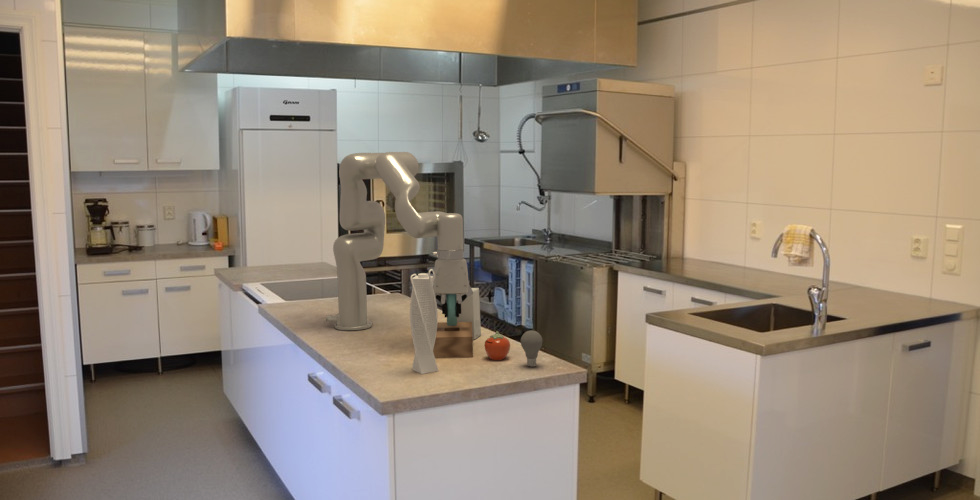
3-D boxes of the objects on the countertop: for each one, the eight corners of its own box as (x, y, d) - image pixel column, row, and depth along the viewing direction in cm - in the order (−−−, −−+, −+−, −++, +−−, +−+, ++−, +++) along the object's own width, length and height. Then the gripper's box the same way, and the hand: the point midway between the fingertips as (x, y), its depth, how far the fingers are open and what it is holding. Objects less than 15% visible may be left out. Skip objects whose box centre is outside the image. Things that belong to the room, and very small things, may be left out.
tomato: (479, 357, 227) (479, 330, 226) (502, 354, 230) (501, 327, 229) (492, 363, 220) (492, 335, 219) (515, 359, 224) (515, 332, 223)
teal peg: (446, 326, 234) (446, 292, 233) (447, 323, 237) (446, 291, 236) (456, 325, 234) (456, 292, 233) (457, 323, 237) (456, 290, 236)
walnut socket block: (431, 358, 227) (430, 337, 226) (433, 341, 247) (433, 322, 246) (472, 357, 227) (472, 336, 226) (472, 340, 247) (471, 321, 246)
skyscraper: (444, 371, 213) (442, 268, 209) (420, 376, 209) (418, 271, 205) (429, 365, 219) (427, 265, 216) (406, 369, 215) (403, 267, 211)
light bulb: (519, 363, 220) (519, 328, 218) (540, 363, 220) (540, 327, 219) (522, 369, 214) (521, 333, 212) (544, 368, 214) (544, 332, 213)
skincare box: (481, 335, 254) (480, 287, 252) (474, 340, 247) (473, 291, 246) (457, 334, 256) (456, 286, 254) (449, 338, 250) (448, 290, 248)
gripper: (422, 257, 229) (423, 319, 232) (478, 256, 230) (479, 318, 232) (423, 254, 237) (425, 314, 239) (478, 253, 237) (478, 313, 240)
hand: (451, 315), depth 236 cm, fingers closed on teal peg, 3 cm apart
